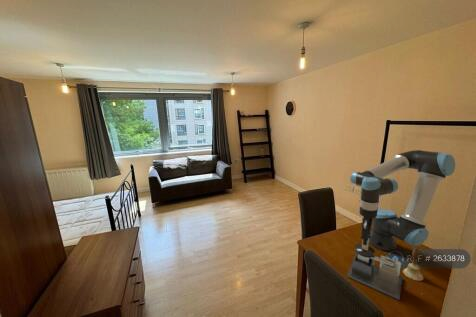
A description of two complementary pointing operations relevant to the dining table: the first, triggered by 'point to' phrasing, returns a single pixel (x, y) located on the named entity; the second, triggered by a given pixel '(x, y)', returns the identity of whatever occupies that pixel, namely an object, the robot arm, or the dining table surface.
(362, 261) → the black ball joystick
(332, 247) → the dining table surface
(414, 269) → the hand bell
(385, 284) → the press stand
